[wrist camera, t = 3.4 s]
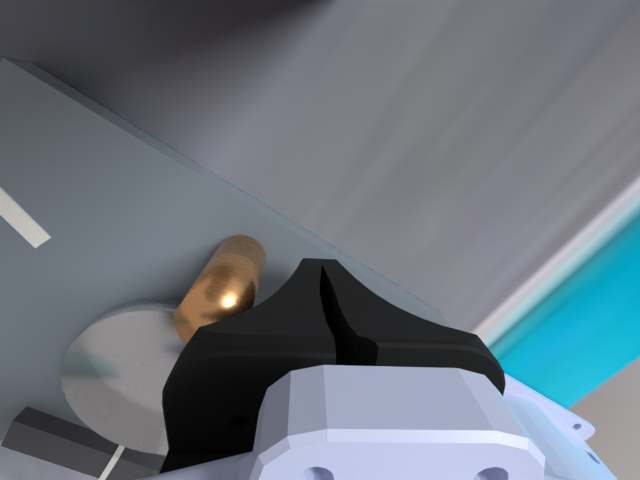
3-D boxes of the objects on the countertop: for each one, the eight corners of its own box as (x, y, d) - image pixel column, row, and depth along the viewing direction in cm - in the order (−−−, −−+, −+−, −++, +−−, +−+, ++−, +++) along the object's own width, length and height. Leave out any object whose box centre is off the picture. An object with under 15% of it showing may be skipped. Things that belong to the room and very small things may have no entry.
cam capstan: (208, 451, 17) (176, 560, 13) (55, 392, 15) (-40, 498, 11) (335, 285, 14) (348, 360, 9) (159, 184, 12) (78, 221, 8)
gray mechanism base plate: (439, 311, 16) (467, 352, 13) (262, 505, 21) (255, 563, 18) (31, 62, 12) (-57, 45, 9) (-72, 386, 17) (-149, 441, 14)
